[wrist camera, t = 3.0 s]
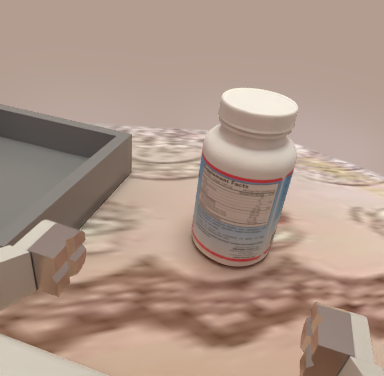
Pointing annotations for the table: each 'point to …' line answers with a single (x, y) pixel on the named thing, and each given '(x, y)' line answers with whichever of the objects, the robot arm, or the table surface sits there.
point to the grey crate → (55, 170)
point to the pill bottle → (244, 176)
